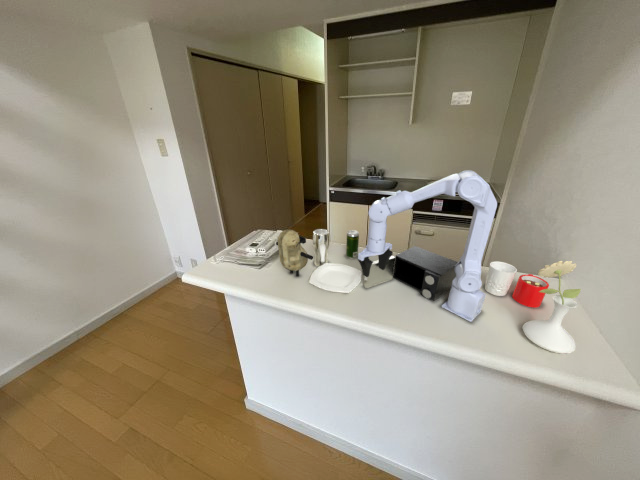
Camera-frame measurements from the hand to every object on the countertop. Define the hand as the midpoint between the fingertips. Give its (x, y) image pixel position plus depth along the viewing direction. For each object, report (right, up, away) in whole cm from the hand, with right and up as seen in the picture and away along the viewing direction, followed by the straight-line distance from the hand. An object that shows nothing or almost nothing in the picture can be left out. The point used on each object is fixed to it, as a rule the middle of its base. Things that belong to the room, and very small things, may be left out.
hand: (373, 272), depth 90 cm
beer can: (-4, +4, +28) cm, 28 cm away
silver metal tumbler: (-18, +1, +22) cm, 29 cm away
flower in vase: (+44, -17, -18) cm, 50 cm away
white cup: (+45, -7, +3) cm, 46 cm away
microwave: (+20, -5, +8) cm, 22 cm away
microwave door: (+2, -4, +10) cm, 11 cm away
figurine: (-29, -3, +14) cm, 33 cm away
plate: (-13, -5, +10) cm, 17 cm away
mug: (+53, -9, 0) cm, 54 cm away
